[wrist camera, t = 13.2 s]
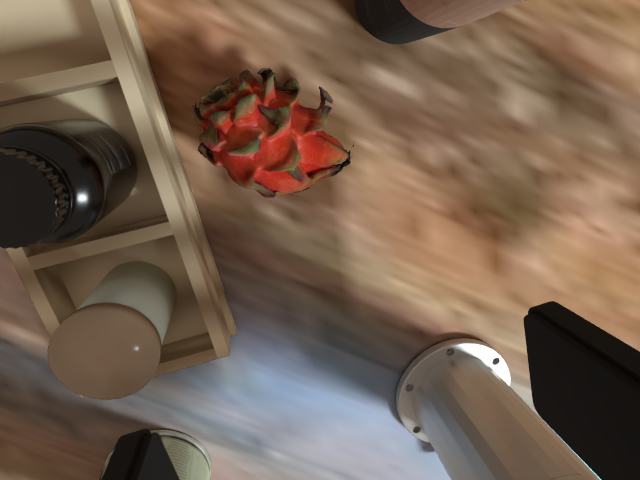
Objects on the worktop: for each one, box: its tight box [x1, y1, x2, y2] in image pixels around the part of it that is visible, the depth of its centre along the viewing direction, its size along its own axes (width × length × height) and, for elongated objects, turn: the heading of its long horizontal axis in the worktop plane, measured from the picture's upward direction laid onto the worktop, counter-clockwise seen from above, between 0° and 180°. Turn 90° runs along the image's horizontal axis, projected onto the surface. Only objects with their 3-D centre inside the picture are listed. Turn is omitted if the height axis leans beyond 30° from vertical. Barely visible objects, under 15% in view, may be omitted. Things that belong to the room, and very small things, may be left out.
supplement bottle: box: [0, 119, 137, 249], centre depth 25 cm, size 7×7×12 cm
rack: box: [0, 0, 237, 398], centre depth 30 cm, size 34×13×4 cm, turn 12°
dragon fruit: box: [192, 68, 354, 198], centre depth 30 cm, size 8×8×12 cm
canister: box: [48, 261, 177, 400], centre depth 30 cm, size 6×6×9 cm
